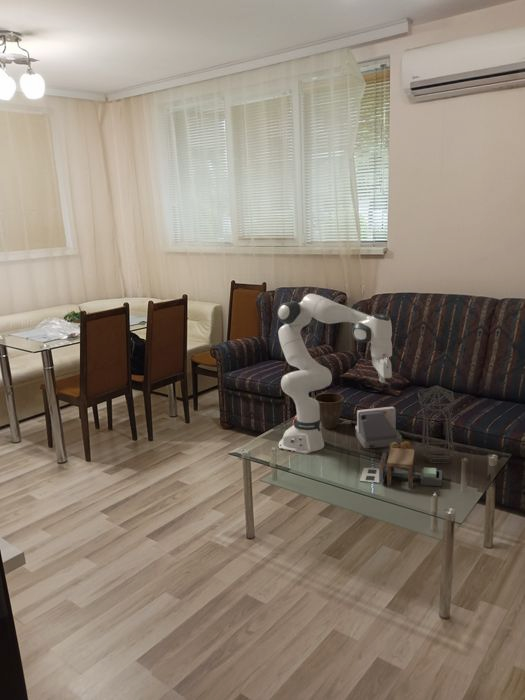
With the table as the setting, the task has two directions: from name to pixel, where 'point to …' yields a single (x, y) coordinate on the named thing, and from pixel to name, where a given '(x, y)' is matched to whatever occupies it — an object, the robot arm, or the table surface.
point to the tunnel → (400, 462)
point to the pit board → (370, 475)
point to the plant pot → (330, 409)
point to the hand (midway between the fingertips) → (381, 381)
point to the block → (429, 472)
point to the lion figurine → (401, 445)
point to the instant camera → (377, 427)
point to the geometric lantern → (441, 391)
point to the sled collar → (424, 480)
